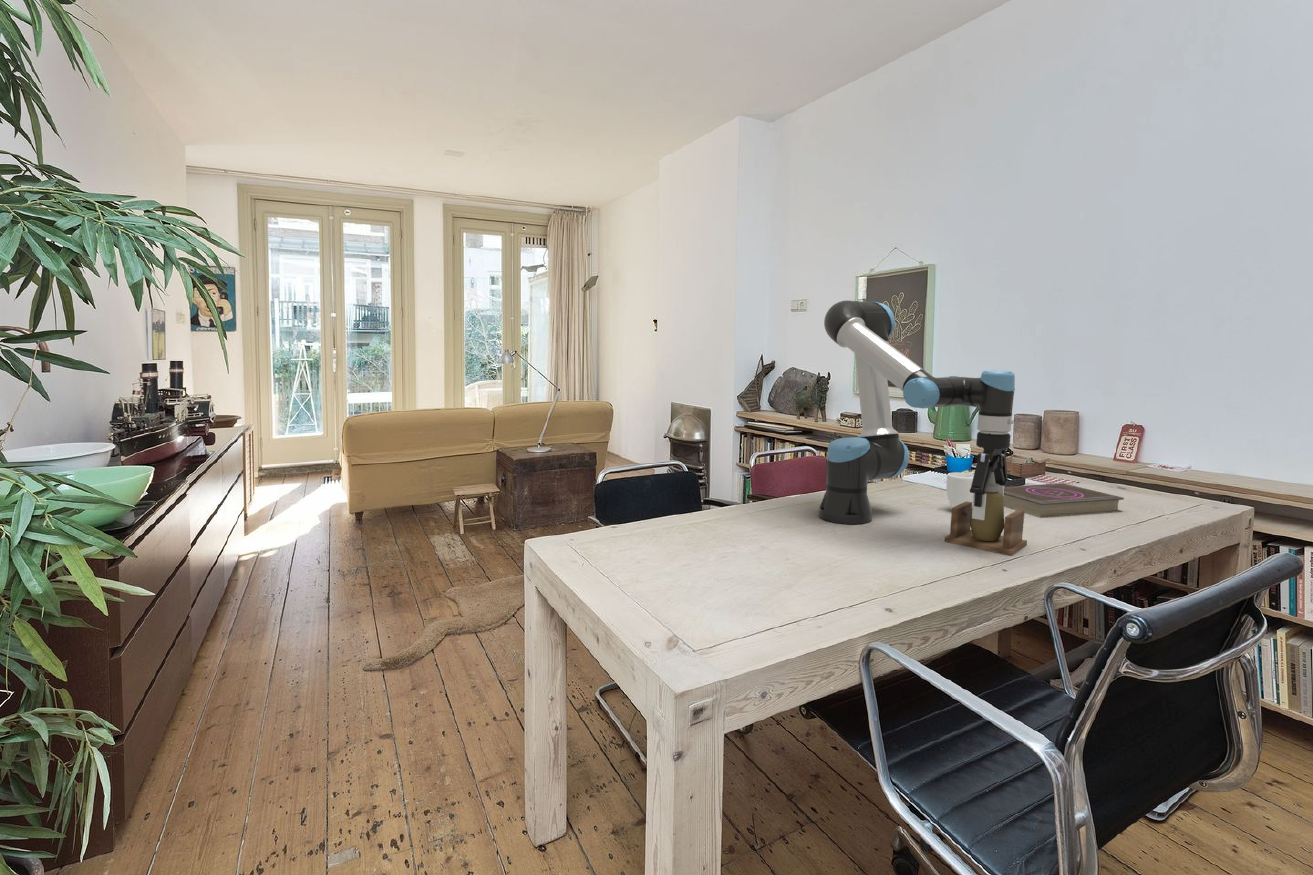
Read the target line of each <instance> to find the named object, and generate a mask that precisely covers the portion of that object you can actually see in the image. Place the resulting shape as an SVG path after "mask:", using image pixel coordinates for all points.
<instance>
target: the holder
mask: <svg viewBox="0 0 1313 875" xmlns="http://www.w3.org/2000/svg"><path fill="white" fill-rule="evenodd" d="M972 506H973V503H972V502H967V501H966V502H964V503H961V504H959V505H957V506H955V507H953V508H952V509H951V514H950V516H951V517H950V529H949V531H950V532H949V534H948V535H946V536H945V537H944V542H945V543H950V544H954V545H959V546H963V547H964V546H965V547H969V548H974V549H979V550H983V551H989V552H993V553H996V554H997V553H998V554H1002V555H1007V556H1013V555H1015V554H1016V553H1018V552H1019V551H1021V550H1022V549H1024V548H1025V547H1026V546H1027V545H1028V540H1027V539H1023V532H1024V521H1025V520H1024V519H1025V513H1024V511H1022V510H1014V511H1013V512H1011V513H1009V514H1008V515H1005V516H1004V529H1003V535H1001V536H1000V538H999V540H997V541H983V540H979V539H976V538H974V537H973V534H972V531H971V527H970V523H969V522H970V516H971V511H972Z"/></svg>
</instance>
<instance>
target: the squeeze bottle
mask: <svg viewBox="0 0 1313 875" xmlns="http://www.w3.org/2000/svg"><path fill="white" fill-rule="evenodd" d="M999 491H1000V485H999V484H996V483H995V477H994V472H992V473H991V476H990V479H989V482H988V485H987V488H986V491H985V494H986V506H985V519H984V520H979V519H973V518H972V511H971V516H970V522H969V523H970V530H971V531H972V534H973V537H974V538H976V539H979V540H983V541H997V540H999V538H1000V536H1002V533H1003V532H1004V522H1005V514H1004V513H1005V507H1004V500H1003V495H1002V494H1001V493H999ZM972 510H973V505H972Z"/></svg>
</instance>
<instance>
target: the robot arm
mask: <svg viewBox="0 0 1313 875" xmlns="http://www.w3.org/2000/svg"><path fill="white" fill-rule="evenodd" d="M824 316H825V317H824V319H823V320H824V321H823V323H824V324H823V325H824V331H825V332H826V334H827V335H828V337H829V338H830V339H831V340H832V341H833V342H834V343H836V344H837V345H838V346H839V347H841V348H848V349H849V350H850V351H851V352H853V353H854V356H855V357H854V358H855V367H856V368H855V369H856V376H857V386H858V396H859V398H858V399H859V407H860V416H861V418H860V419H861V426H862V431H861V433H859V435H858V437H857V436H856V437H855V436H853V437H852V436H851V437H840V438H837V439H834V440H832V441H831V442H830V443H829V444H828V446H827V453H826V483H825V492H824V495H823V498H822V500H821V503H820V504H819V508H818V517H819V518H820V519H822V520H824V521H828V522H831V523H837V524H844V525H845V524H846V525H859V524H860V525H861V524H867V523H870V522H871V521H872V520H873V511H872V507H871V506H872V505H871V504H870V503H871V502H870V499H869V497H868V496H869V495H868V481H874V480H875V481H876V480H883V479H890V478H894V477H897V476H899V475H901V474H902V473H903V472H904V471H905V469H906V468H907V467H908V464H909V461H910V452H909V448H908V446H907V445H906V444H905V442H904V441H903V440H901V439H900V436H899V432H898V431H897V430H896V429H895V428H894V427H893V421H892V410H891V403H890V393H889V392H890V391H889V383H888V382H889V381H890V383H892V385H894V386H895V387H897V388H898V389H899V390H900V391H902V397H903V398H904V401H905V403H906V404H907V405H908V406H909V407H912V408H915V409H917V408H919V409H929V408H932V409H933V408H939V407H940V408H941V407H944V408H945V407H957V406H958V407H959V406H961V407H972V408H973V407H974V408H978V414H977V425H976V428H977V430H978V432H977V433H976V443H975V444H976V447H978V448H983V451H982V453H981V452H979V453H978V454H977V457H976V458H977V459H976V464H975V468H974V473H973V475H974V477H973V481H972V485H971V489H970V493H974V496H973V503H972V506H973V510H972V518H973V519H979V520H984V519H985V506H986V494H985V491H986V488H987V485H988V482H989V479H990V476H991V473H992V472H994V477H995V483H996V484H999V485H1000V491H999V493H1001V494H1002V495H1003V496H1004V487H1009V478H1008V477H1009V476H1008V469H1007V468H1008V467H1007V449H1009V448H1010V445H1011V437H1012V436H1011V434H1010V432H1011V430H1012V425H1013V424H1014V423H1015V421H1014V420H1013V419H1012V418H1013V407H1014V399H1015V398H1014V396H1015V390H1016V388H1015V381H1016V380H1015V379H1016V378H1015V373H1014V372H1013V371H1011V370H993V369H992V370H983V371H982V372H981V375H980V377H968V376H967V377H966V376H956V375H954V376H953V375H951V376H943V377H935V376H933V375H932V374H930V373H929V372H927V371H926V370H925V369H923V368H922V367H921V366H919V365H918V364H916V362H914V361H912V360H911V359H910V358H908V357H907V356H906V355H904V354H903V353H902V352H901V351H899V350H898V349H897V348H895V347H894V346H892V345H891V344H890V341H889V337H891V336H892V334H893V331H894V330H895V326H896V319H895V318H896V317H895V315H894V313H893V311H892V309H891V308H890V307H889V306H888V305H886V304H884V303H882V302H877V301H871V300H870V301H864V300H863V301H861V300H859V301H858V300H841V301H838V302H836V303H835V304H833V305H832V306H831V307H829V308H828V309H827V312H826V314H825V315H824Z"/></svg>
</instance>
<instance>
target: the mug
mask: <svg viewBox="0 0 1313 875" xmlns="http://www.w3.org/2000/svg"><path fill="white" fill-rule="evenodd" d="M946 475H947V476H946V497H947V499H948V502H949V505H950V508H951V510H952V508H953V507H955V506H957V505H959V504H961V503H964V502H966V501H967V502H972V504H973V496H974V493H970V489H971V485H972V481H973V477H974V473H973V474H972V473H968V472H949V473H948V474H946Z"/></svg>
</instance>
